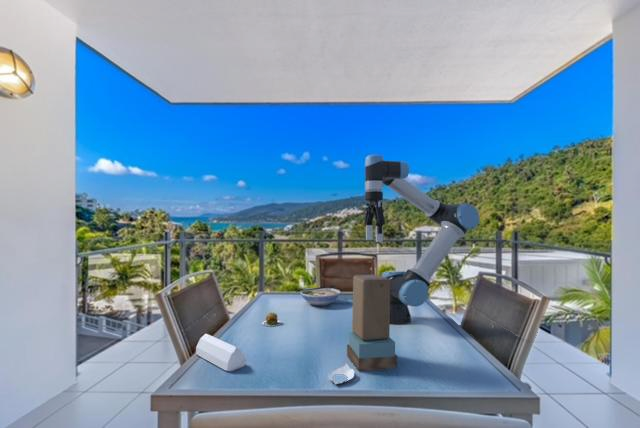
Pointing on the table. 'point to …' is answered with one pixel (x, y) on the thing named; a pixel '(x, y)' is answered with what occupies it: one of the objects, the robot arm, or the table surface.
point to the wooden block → (371, 307)
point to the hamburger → (271, 319)
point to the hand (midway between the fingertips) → (374, 240)
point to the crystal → (220, 353)
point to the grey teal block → (371, 347)
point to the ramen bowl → (320, 295)
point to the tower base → (371, 361)
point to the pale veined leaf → (342, 370)
